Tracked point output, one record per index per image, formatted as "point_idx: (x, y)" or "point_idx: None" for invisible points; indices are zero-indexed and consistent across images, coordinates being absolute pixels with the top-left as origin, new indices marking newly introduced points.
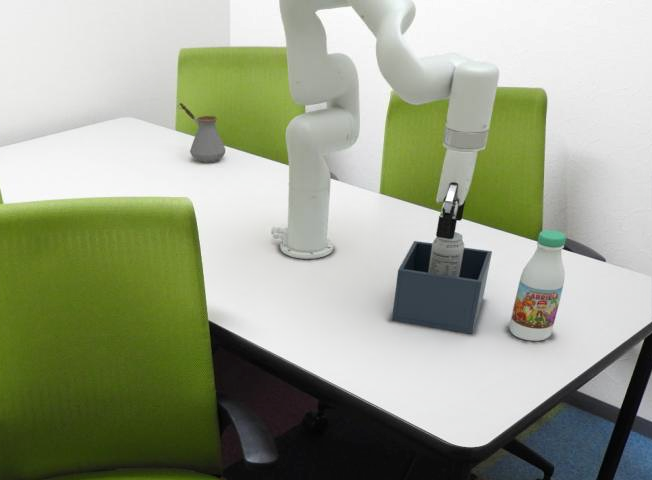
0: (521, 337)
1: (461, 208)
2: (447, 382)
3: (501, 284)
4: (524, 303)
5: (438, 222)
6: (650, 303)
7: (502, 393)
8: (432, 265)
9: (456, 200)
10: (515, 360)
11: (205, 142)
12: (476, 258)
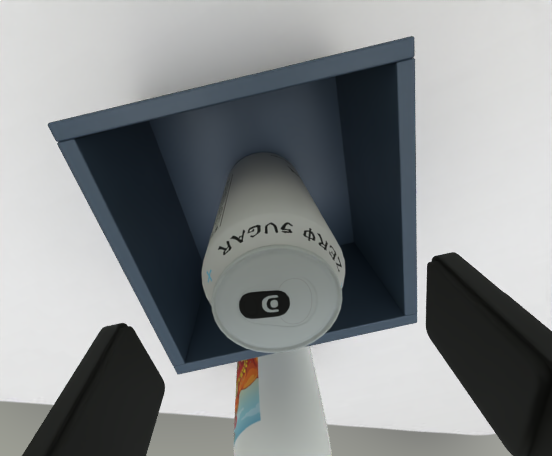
0: None
1: (477, 397)
2: (8, 307)
3: (454, 245)
4: (237, 397)
5: (45, 419)
6: (454, 419)
7: (56, 371)
8: (219, 210)
9: (539, 425)
10: (166, 354)
11: None
12: (391, 276)
